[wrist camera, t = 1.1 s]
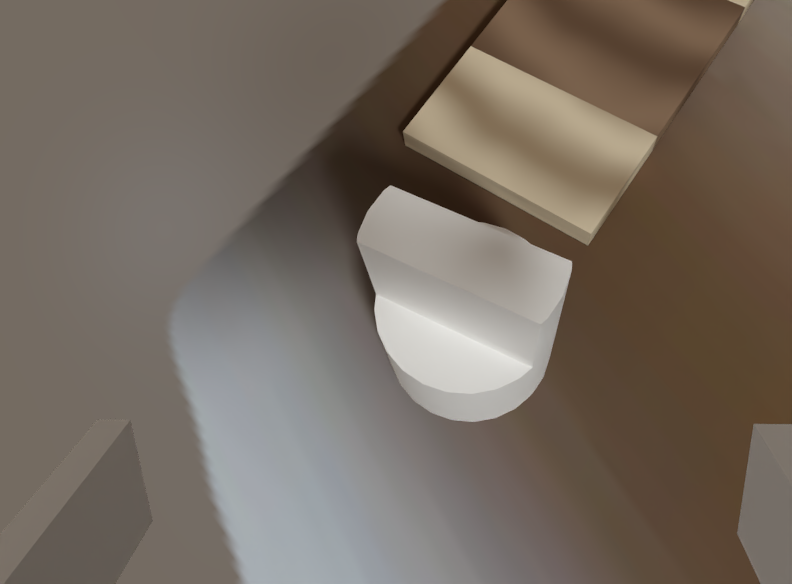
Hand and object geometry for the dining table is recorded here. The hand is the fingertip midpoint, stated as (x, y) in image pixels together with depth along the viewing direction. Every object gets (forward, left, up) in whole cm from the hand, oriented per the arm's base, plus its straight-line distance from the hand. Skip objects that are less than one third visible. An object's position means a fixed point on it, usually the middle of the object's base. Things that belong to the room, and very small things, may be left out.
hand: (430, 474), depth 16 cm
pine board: (-17, -27, -24) cm, 40 cm away
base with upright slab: (-3, -10, -24) cm, 26 cm away
